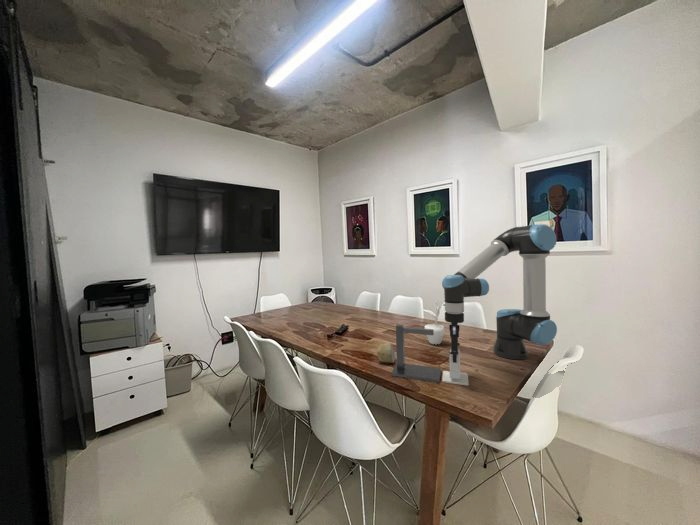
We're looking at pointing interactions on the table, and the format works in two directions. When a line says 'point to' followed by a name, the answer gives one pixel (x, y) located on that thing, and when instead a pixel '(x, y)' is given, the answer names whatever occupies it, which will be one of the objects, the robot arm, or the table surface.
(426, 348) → the table surface
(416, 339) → the table surface
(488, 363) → the table surface
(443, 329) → the potted plant
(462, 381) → the pad
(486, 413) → the table surface
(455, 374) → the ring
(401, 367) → the stand
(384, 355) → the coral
